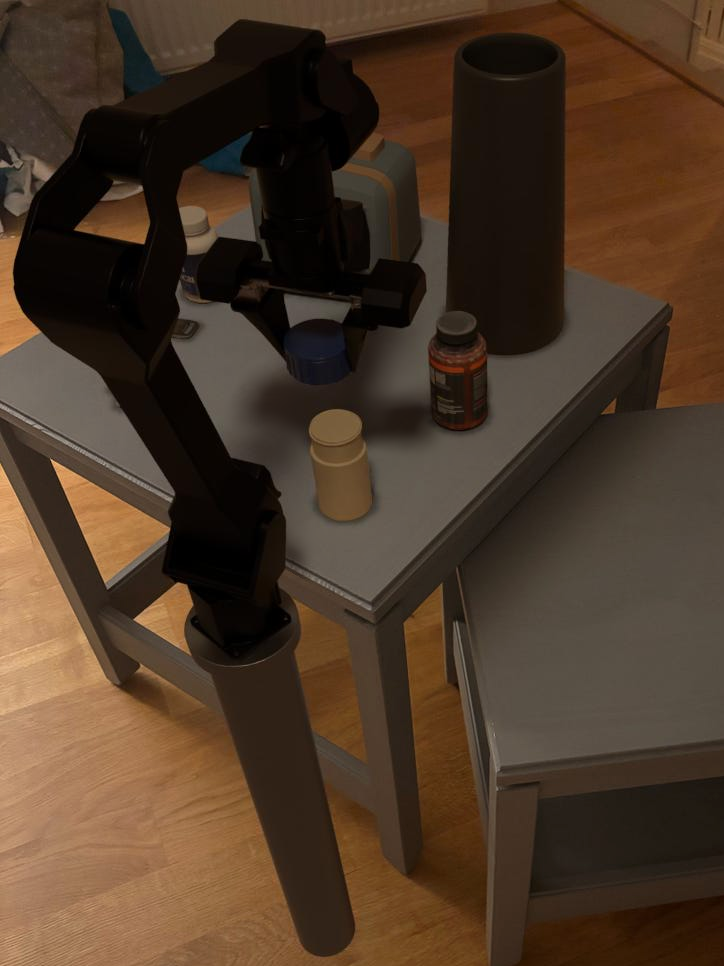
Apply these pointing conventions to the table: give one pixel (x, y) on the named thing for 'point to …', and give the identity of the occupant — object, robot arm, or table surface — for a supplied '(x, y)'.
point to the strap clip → (182, 325)
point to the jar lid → (316, 352)
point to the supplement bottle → (458, 372)
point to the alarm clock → (370, 203)
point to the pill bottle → (195, 246)
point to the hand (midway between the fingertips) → (322, 365)
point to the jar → (340, 465)
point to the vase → (508, 190)
